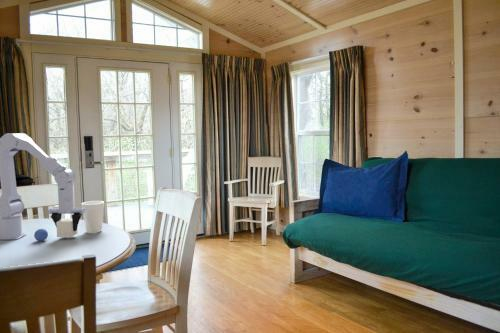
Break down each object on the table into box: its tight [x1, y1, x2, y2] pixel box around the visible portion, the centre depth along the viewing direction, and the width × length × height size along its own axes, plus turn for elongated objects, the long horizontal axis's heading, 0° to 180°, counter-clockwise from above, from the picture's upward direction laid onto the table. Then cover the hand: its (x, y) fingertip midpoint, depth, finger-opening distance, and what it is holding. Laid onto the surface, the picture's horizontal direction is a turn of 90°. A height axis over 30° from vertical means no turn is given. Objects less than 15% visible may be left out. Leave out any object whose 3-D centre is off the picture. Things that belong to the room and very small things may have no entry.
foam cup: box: [80, 200, 105, 234], centre depth 184 cm, size 10×9×13 cm
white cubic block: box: [55, 218, 78, 238], centre depth 173 cm, size 6×6×6 cm
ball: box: [33, 228, 49, 242], centre depth 169 cm, size 5×5×5 cm
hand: (67, 230), depth 173 cm, fingers closed on white cubic block, 6 cm apart
